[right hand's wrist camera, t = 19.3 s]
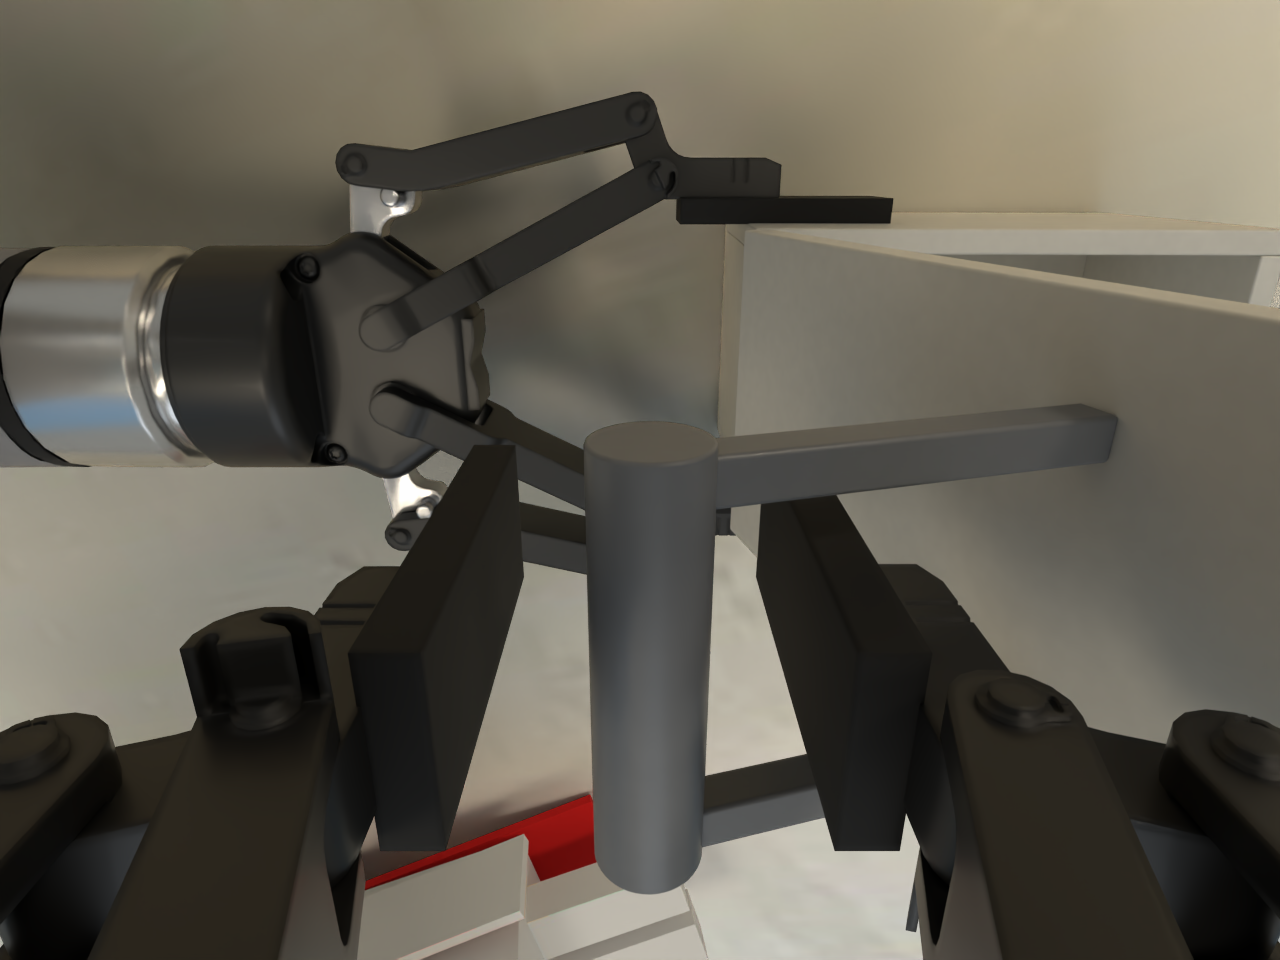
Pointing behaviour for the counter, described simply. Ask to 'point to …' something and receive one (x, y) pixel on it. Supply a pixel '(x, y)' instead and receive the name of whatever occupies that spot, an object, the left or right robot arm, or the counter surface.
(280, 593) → the counter surface
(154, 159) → the counter surface
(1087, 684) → the lid
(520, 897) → the toy
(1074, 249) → the chest
